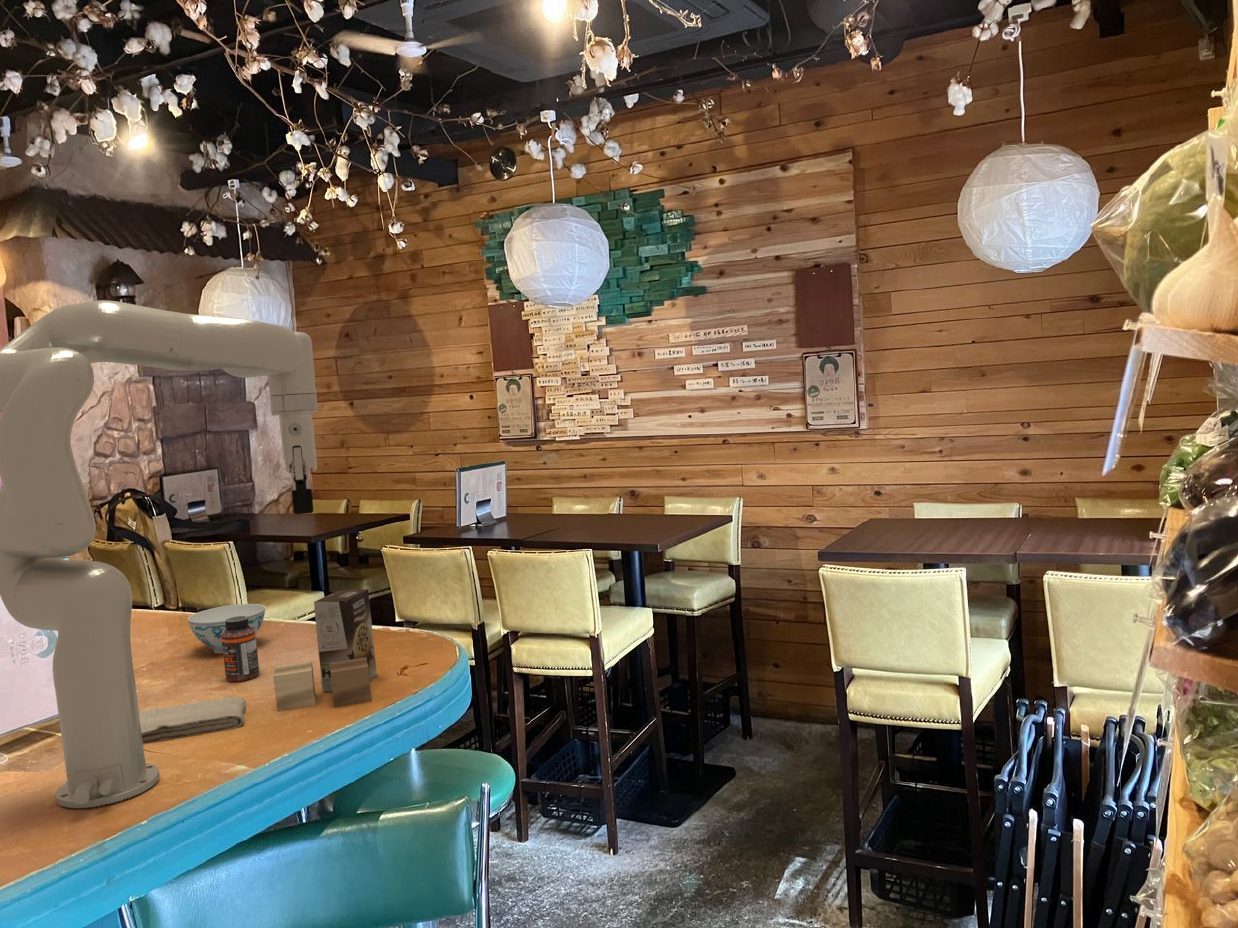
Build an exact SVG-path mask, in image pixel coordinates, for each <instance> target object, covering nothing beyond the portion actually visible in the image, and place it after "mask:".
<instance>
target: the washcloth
mask: <svg viewBox="0 0 1238 928" xmlns="http://www.w3.org/2000/svg"><path fill="white" fill-rule="evenodd" d="M246 703H247V702H246V700H245V698H244V697H241V696H231V697H230V696H229V697H225V698H218V699H207V700H201V701H200V700H199V701H194V702H188V703H183V704H182V703H181V704H176V705H175V704H174V705H172V706H171V705H170V706H169V705H168V706H163V707H162V706H161V707H158V708H157V707H156V708H150V709H143V710H140V711H139V716H140V723H141V731H142V739H143V744H146V743H145V742H147V743H154V742H160V741H166V740H172V739H173V740H174V739H178V738H179V739H180V738H185V737H190V736H196V735H197V736H198V735H203V734H209V733H214V732H220V731H221V732H222V731H226V730H232V729H237V728H239V727H241V726H242V725H243V723H244V721H245V716H244V714H245V711H246Z"/></svg>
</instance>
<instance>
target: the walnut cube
mask: <svg viewBox="0 0 1238 928" xmlns="http://www.w3.org/2000/svg"><path fill="white" fill-rule="evenodd" d="M330 673H331V682H332V691H331V692H332V699H333V707H334V708H339V707H340V708H341V707H344V706H350V705H357V704H363V703H369V702H372V692H371V684H370V683H371V682H370V681H369V672H368V664H367V658H359V659H352V660H346V661H339V662H333V663H330Z"/></svg>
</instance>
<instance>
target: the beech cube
mask: <svg viewBox="0 0 1238 928" xmlns="http://www.w3.org/2000/svg"><path fill="white" fill-rule="evenodd" d="M273 685H274V692H275V702H276V709H277V712H280V710H281V711H286V709H288V710H293V709H292V708H294V709H298V708H299V709H300V708H306V707H310V706H316V698H317V697H316V696H317V695H316V685H315V677H314V667H313V661H312V660H310V661H303V662H298V663H297V662H296V663H290V664H283V665H277V666H275V667H274V672H273Z"/></svg>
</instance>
